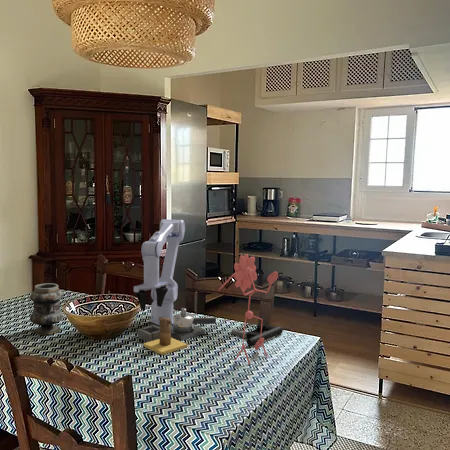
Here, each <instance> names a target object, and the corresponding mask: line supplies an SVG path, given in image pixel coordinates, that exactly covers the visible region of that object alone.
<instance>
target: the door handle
mask: <svg viewBox="0 0 450 450" xmlns="http://www.w3.org/2000/svg"><path fill="white" fill-rule="evenodd" d="M260 334H261V323H259V324H257V325H256V328H255V329H253V330H250V331H245V332H244V339H246V344H247V346H248V347H254V346H255V344H256V342H257V341H258V340H259V339H260ZM281 334H283V327H282V326H272V325H267V324H263V323H262V334H261V338H264V343H266V342H269V341H271V340H273V339H275V338H276V337H278V336H279V335H281ZM231 335H234V336H237V337H241V338H243V331H241V330H237V329H233V330H231Z"/></svg>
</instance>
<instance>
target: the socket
mask: <svg viewBox="0 0 450 450" xmlns="http://www.w3.org/2000/svg"><path fill="white" fill-rule="evenodd" d="M137 338H138V339H141V340H143V341H146V343H147V342H150V341H154V340H157V339H160V326H159V325H157V324H156V325H155V324H153V325H149V326H145V327H141V328H138V329H137Z"/></svg>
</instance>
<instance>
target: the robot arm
mask: <svg viewBox="0 0 450 450" xmlns="http://www.w3.org/2000/svg"><path fill="white" fill-rule="evenodd" d="M185 232H186V224H185V221H184V219H165V218H162V219H161V220H160V222H159V231H155V232H154V233H153V235H152V236H151V237H150V238H149V240H148V241H147V240H146V241H144V242H143V243H142V245H141V250H140V251H141V256H142V261H143V283H142V284H138V285H134V286H133V292H134V294H135V297H136V298H137V300H138V303H139V307H140V310H142V311H146V309H147V308H146V304H147V303H146V301H147V296H148V293H147V292H146V291H149V290H150V291H151V292H150V297H151V299H152V300H153V301H152V302H151V304H150V319H149V322H150V323H152V324H154V325H155V324H156V326H160V320H159V317H163V318H170V319H171V321H172V323H171V325H173V316H174V302H176V300H177V299H178V293H179V292H178V289H179V285H178V283H177V282H176V281H175V280H174V279H173V278H174V274H175V273H174V272H175V266H176V262H177V257H178V256H177V255H178V249H179V246H180V243H181V242H183V240H184V237H185V234H186V233H185ZM166 242H167V244H166ZM165 244H166V249H165V254H164V255H165V256H164V261H163V265H162V271H161V275H160V256H161V255H162V251H163V250H164V249H163V248H164V247H163V246H164V245H165Z"/></svg>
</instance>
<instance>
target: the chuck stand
mask: <svg viewBox="0 0 450 450" xmlns="http://www.w3.org/2000/svg"><path fill="white" fill-rule="evenodd" d="M205 334H206V329H205V328H203V327H200V326H197V325H196V324H194V330H192V331H190V332H177V331H174V330H173V325H171V338H173V339H176V340H178V341H185V340H188V339H192V338H194V337H197V336H200V335H201V336H202V335H205Z"/></svg>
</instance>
